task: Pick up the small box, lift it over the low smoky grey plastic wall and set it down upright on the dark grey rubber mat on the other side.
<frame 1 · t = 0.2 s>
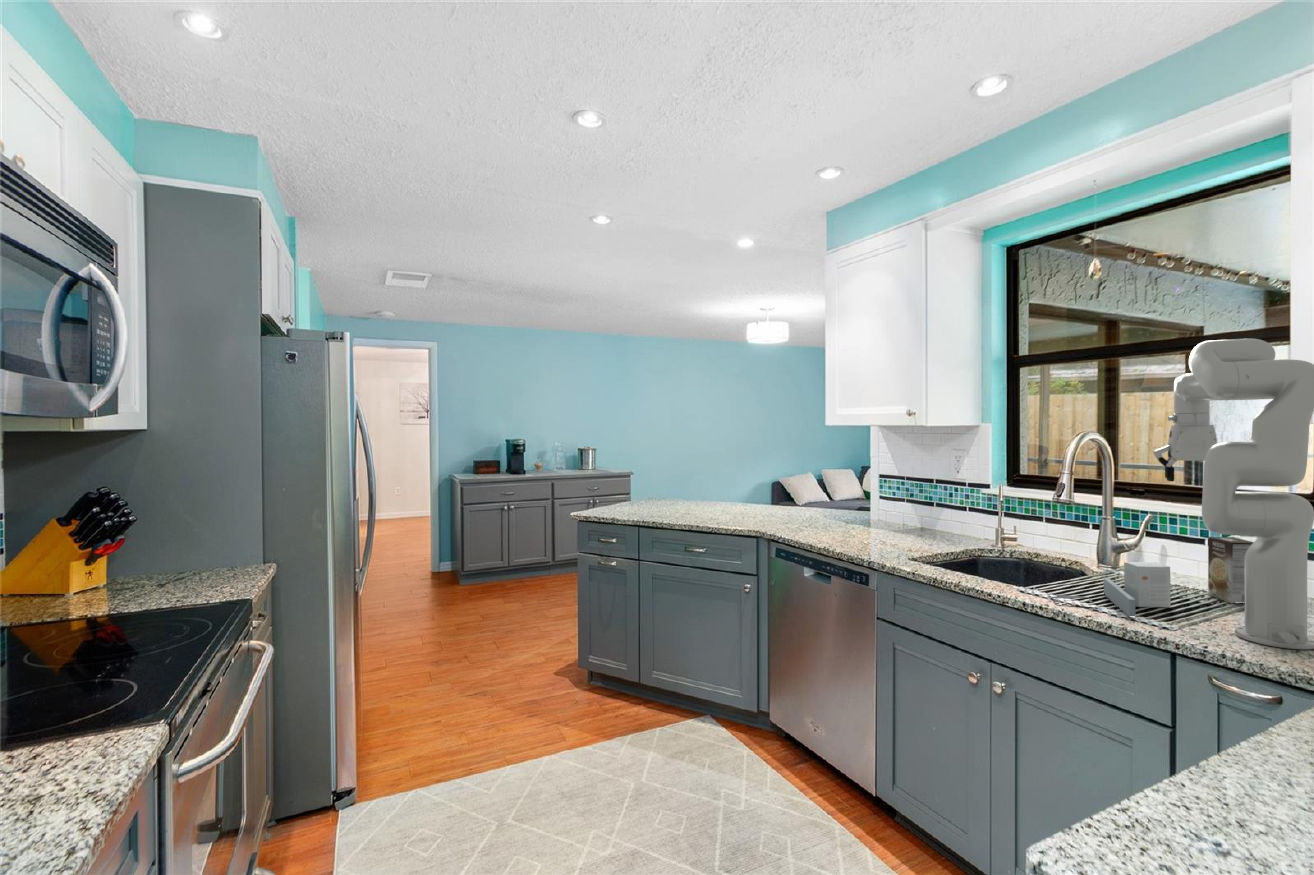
hand: (1191, 481, 173), 31 cm above the worktop, tool pointing down, fingers open, 9 cm apart
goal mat: (1072, 601, 164), on the worktop
low wall: (1118, 605, 160), on the worktop
coffee box: (1232, 600, 165), on the worktop
small box: (1146, 605, 161), on the worktop
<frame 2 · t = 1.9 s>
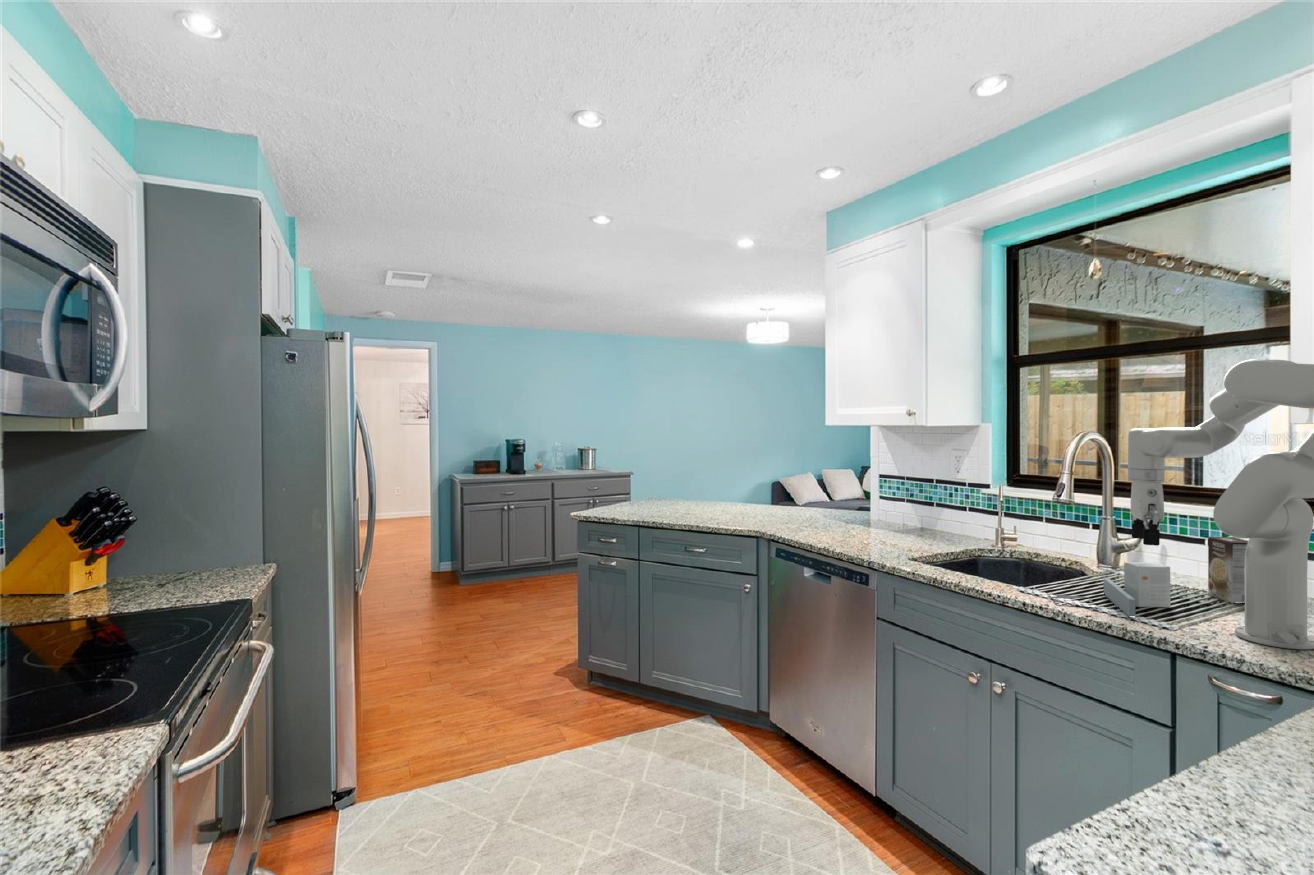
hand: (1145, 541, 161), 16 cm above the worktop, tool pointing down, fingers open, 9 cm apart
nothing on the worktop moved.
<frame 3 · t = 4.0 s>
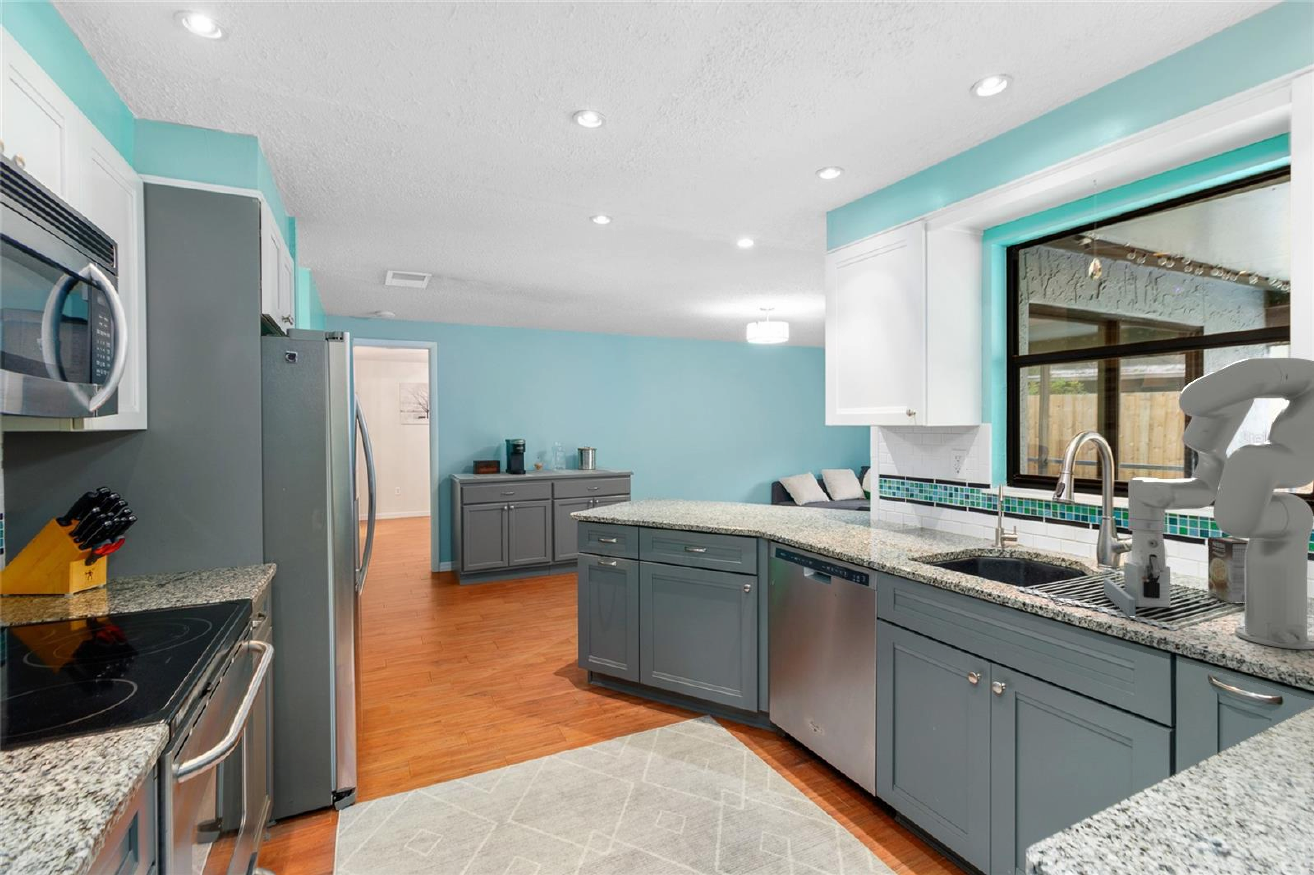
hand: (1146, 593, 161), 3 cm above the worktop, tool pointing down, fingers closed on small box, 6 cm apart
small box: (1146, 605, 161), on the worktop, touching gripper
everything else where it was.
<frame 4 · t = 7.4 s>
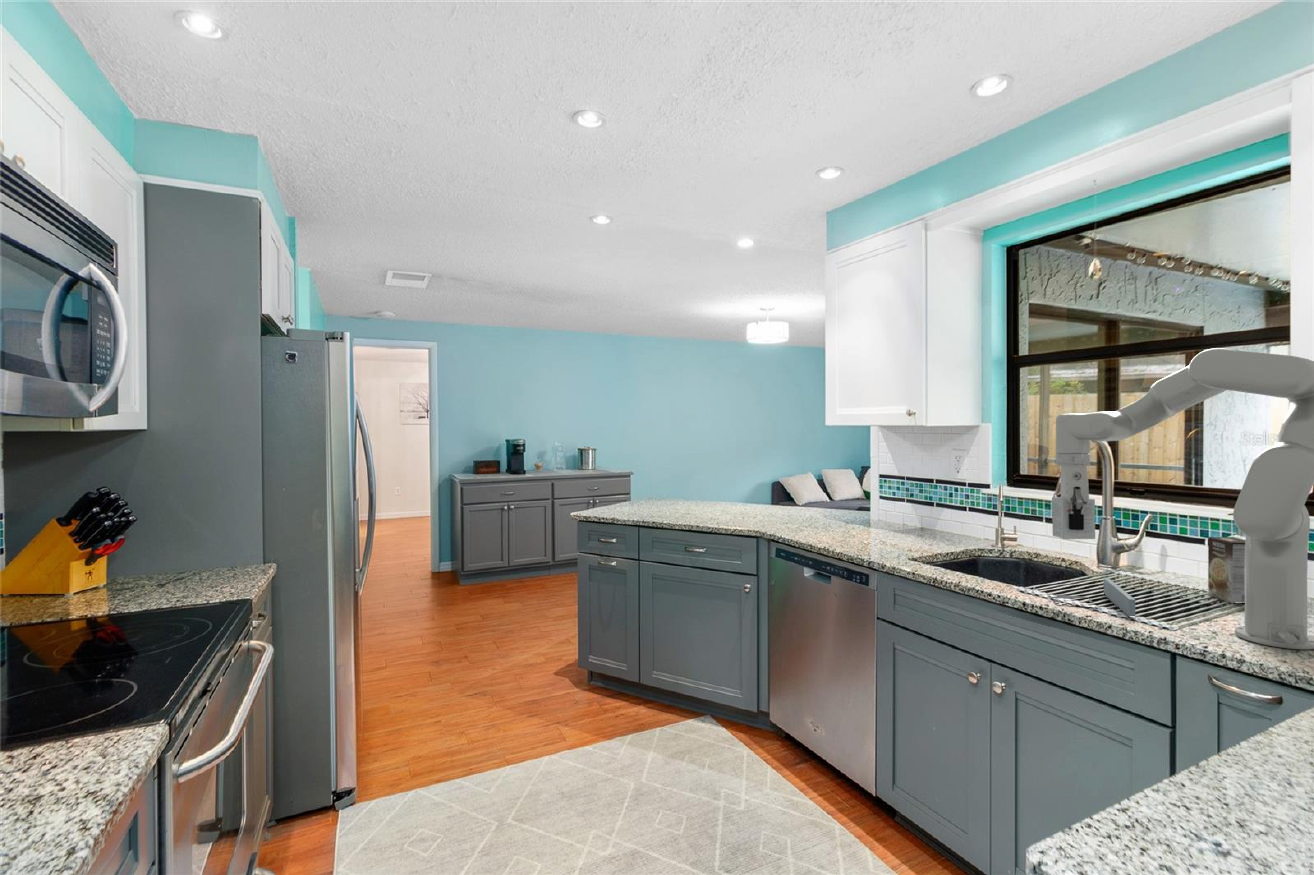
hand: (1073, 527, 164), 20 cm above the worktop, tool pointing down, fingers closed on small box, 6 cm apart
small box: (1073, 538, 164), point 17 cm above the worktop, touching gripper
everything else where it was.
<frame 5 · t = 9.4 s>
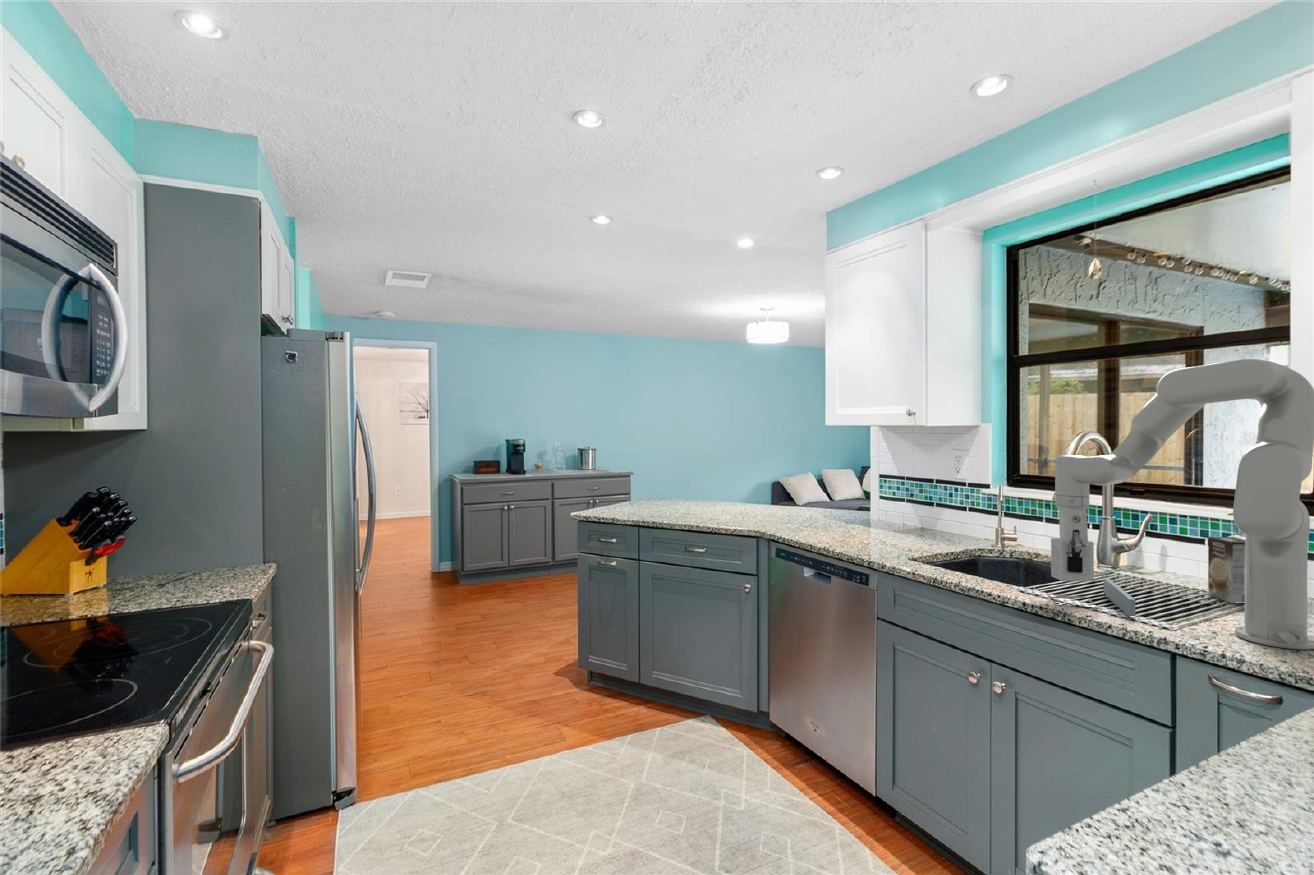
hand: (1071, 568, 164), 9 cm above the worktop, tool pointing down, fingers closed on small box, 6 cm apart
small box: (1071, 579, 164), point 6 cm above the worktop, touching gripper
everything else where it was.
when the fingers open (4 cm above the worktop, at t = 11.2 s): small box drops 1 cm, resting on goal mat.
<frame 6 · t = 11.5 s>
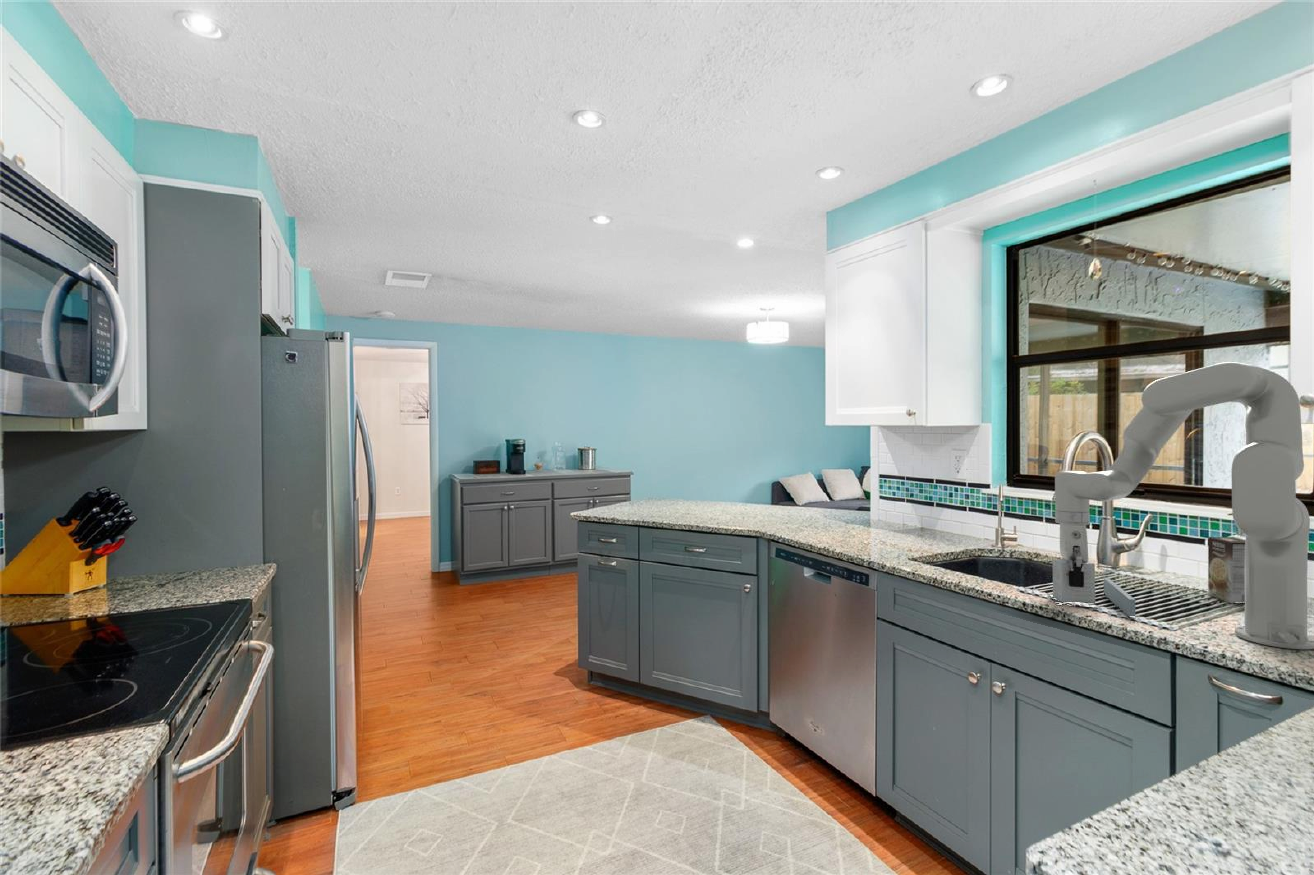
hand: (1072, 582, 164), 5 cm above the worktop, tool pointing down, fingers open, 9 cm apart
small box: (1073, 601, 164), resting on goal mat
everything else where it was.
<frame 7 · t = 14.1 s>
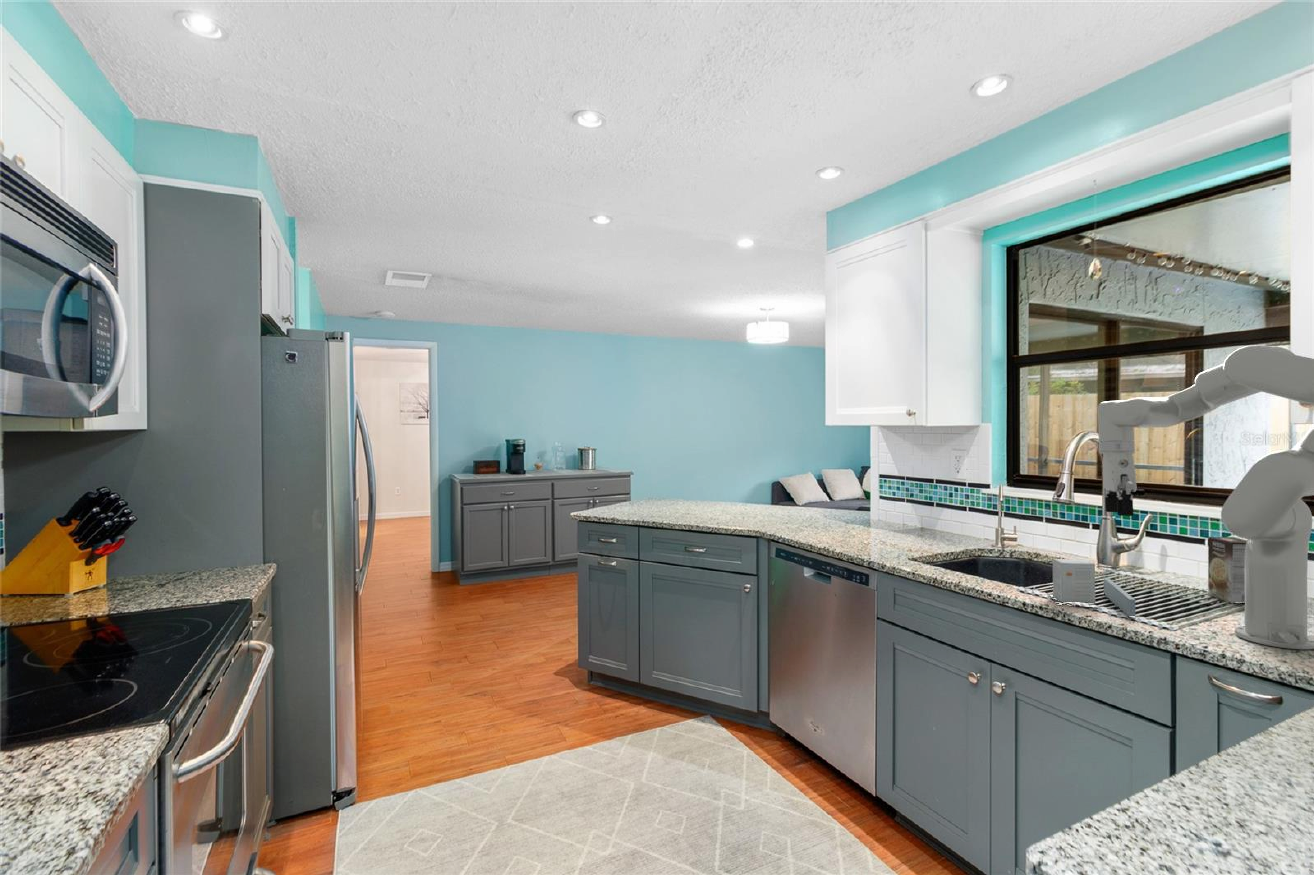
hand: (1119, 513, 162), 23 cm above the worktop, tool pointing down, fingers open, 9 cm apart
nothing on the worktop moved.
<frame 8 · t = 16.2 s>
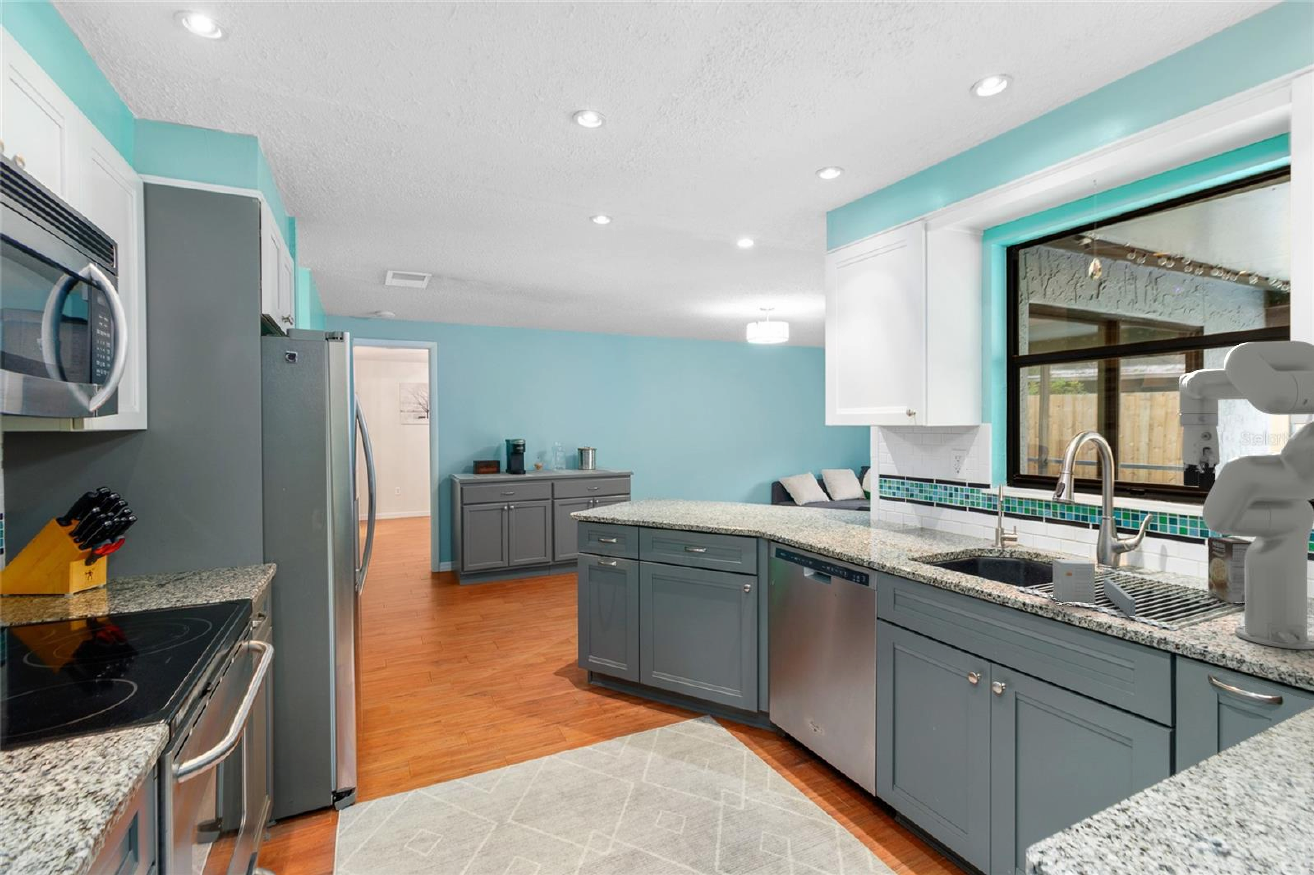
hand: (1199, 487, 160), 30 cm above the worktop, tool pointing down, fingers open, 9 cm apart
nothing on the worktop moved.
at the end: small box inside the target area on the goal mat (0.2 cm from its centre), point 0.1 cm above the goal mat's base; small box tilted 0°; the gripper is holding nothing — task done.
